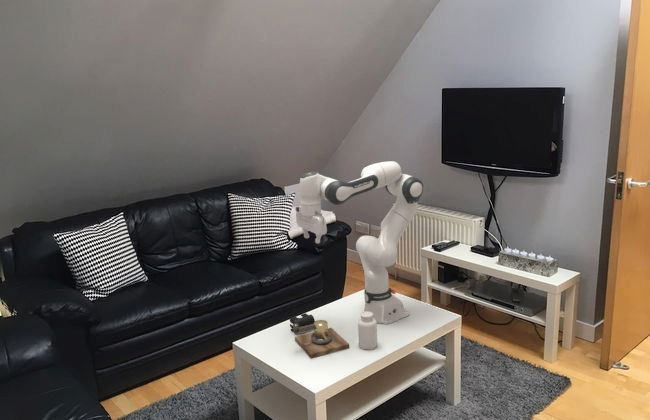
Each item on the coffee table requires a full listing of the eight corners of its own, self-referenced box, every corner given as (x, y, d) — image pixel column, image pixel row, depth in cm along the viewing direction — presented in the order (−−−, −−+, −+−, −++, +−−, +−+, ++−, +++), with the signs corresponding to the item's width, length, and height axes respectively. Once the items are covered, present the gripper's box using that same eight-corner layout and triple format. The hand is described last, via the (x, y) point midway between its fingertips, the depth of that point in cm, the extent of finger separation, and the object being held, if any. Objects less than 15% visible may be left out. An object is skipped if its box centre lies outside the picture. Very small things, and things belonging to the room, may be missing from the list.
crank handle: (322, 329, 251) (322, 313, 249) (332, 338, 243) (331, 321, 241) (290, 337, 245) (289, 320, 243) (298, 347, 237) (297, 329, 235)
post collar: (326, 333, 252) (326, 329, 252) (335, 342, 244) (335, 337, 244) (308, 338, 249) (307, 334, 248) (316, 347, 241) (316, 342, 240)
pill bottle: (358, 350, 241) (357, 317, 237) (359, 341, 248) (358, 309, 245) (376, 350, 240) (375, 318, 236) (377, 341, 247) (376, 310, 244)
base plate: (331, 331, 259) (331, 327, 258) (349, 348, 243) (349, 343, 242) (295, 340, 251) (294, 336, 251) (311, 358, 235) (310, 353, 235)
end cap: (297, 336, 256) (296, 322, 254) (289, 330, 262) (288, 317, 260) (315, 330, 261) (315, 316, 259) (307, 324, 267) (307, 311, 265)
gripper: (329, 213, 236) (330, 244, 240) (305, 204, 253) (306, 233, 257) (317, 215, 233) (318, 247, 237) (293, 206, 250) (294, 236, 254)
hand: (312, 240), depth 247 cm, fingers open, 8 cm apart
